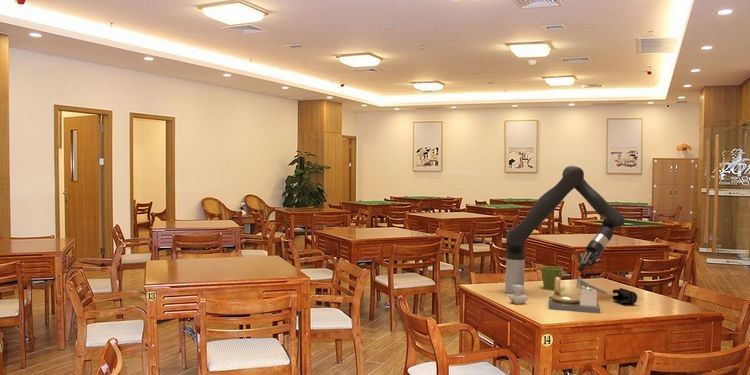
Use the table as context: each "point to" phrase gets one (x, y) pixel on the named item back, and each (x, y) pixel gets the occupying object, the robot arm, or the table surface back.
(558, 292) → the brass dish with post
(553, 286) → the plant pot
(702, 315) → the table surface
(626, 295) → the end cap
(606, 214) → the robot arm
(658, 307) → the table surface
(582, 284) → the caliper
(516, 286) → the white rounded piece
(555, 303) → the base
